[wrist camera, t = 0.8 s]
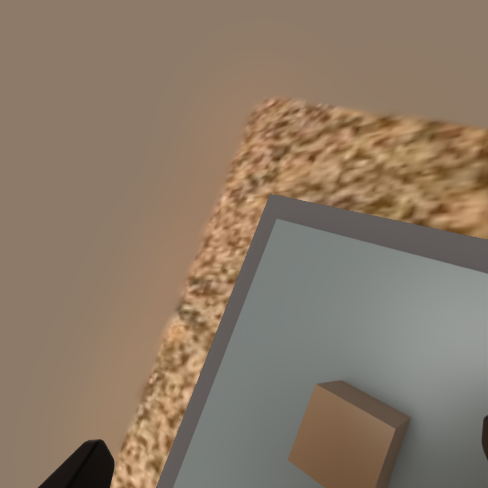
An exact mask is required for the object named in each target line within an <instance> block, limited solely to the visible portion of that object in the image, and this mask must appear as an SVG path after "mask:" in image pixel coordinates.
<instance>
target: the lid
mask: <svg viewBox="0 0 488 488" xmlns="http://www.w3.org/2000/svg"><path fill="white" fill-rule="evenodd" d="M486 415H488V274H487V273H483V272H479V271H475V270H472V269H468V268H464V267H460V266H456V265H452V264H449V263H445V262H441V261H437V260H433V259H429V258H426V257H422V256H418V255H414V254H410V253H406V252H403V251H399V250H395V249H391V248H387V247H383V246H380V245H376V244H372V243H368V242H364V241H360V240H357V239H353V238H349V237H345V236H341V235H337V234H334V233H330V232H326V231H322V230H318V229H314V228H311V227H307V226H303V225H299V224H295V223H291V222H288V221H284V220H280V219H276V222H275V224H274V227H273V229H272V232H271V235H270V237H269V240H268V242H267V245H266V248H265V250H264V253H263V255H262V258H261V261H260V263H259V266H258V268H257V271H256V274H255V276H254V279H253V281H252V284H251V287H250V289H249V292H248V294H247V297H246V300H245V302H244V305H243V307H242V310H241V313H240V315H239V318H238V320H237V323H236V326H235V328H234V331H233V333H232V336H231V338H230V341H229V344H228V346H227V349H226V351H225V354H224V357H223V359H222V362H221V364H220V367H219V370H218V372H217V375H216V377H215V380H214V383H213V385H212V388H211V390H210V393H209V396H208V398H207V401H206V403H205V406H204V409H203V411H202V414H201V416H200V419H199V422H198V424H197V427H196V429H195V432H194V435H193V437H192V440H191V442H190V445H189V448H188V450H187V453H186V455H185V458H184V461H183V463H182V466H181V468H180V471H179V474H178V476H177V479H176V481H175V484H174V487H173V488H488V460H487V458H486V456H485V453H484V451H483V447H482V442H481V439H482V428H483V419H484V417H485V416H486Z"/></svg>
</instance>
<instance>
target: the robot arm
mask: <svg viewBox="0 0 488 488" xmlns="http://www.w3.org/2000/svg"><path fill="white" fill-rule="evenodd" d="M481 442H482V447H483V451H484V453H485V456H486V458H487V460H488V415H486V416H485V417H484V419H483V428H482V439H481ZM113 472H114V459H113V457H112V455H111V453H110V451H109V449H108V448H107V446H106V444H105V442H104V441H103V440H100V439H98V440H88V441H86V442H84V443H83V444H82V445H81V446H80V447H79V448H78V449H77V450H76V451H75V452H74V453H73V454H72V455H71V456H70V457H69V458H68V459H67V460H66V461H65V462H64V463H63V464H62V465H61V466H60V467H59V468H58V469H56V471H55V472H54V473H52V474H51V476H49V477H48V478H47V479H46V480H45V481H44V482H43V483H42V484H41V485H40V486H39V487H38V488H110V485H111V480H112V476H113Z"/></svg>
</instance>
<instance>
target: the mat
mask: <svg viewBox="0 0 488 488" xmlns="http://www.w3.org/2000/svg"><path fill="white" fill-rule="evenodd" d="M276 219H280V220H284V221H288V222H291V223H295V224H299V225H303V226H307V227H311V228H314V229H318V230H322V231H326V232H330V233H334V234H337V235H341V236H345V237H349V238H353V239H357V240H360V241H364V242H368V243H372V244H376V245H380V246H383V247H387V248H391V249H395V250H399V251H403V252H406V253H410V254H414V255H418V256H422V257H426V258H429V259H433V260H437V261H441V262H445V263H449V264H452V265H456V266H460V267H464V268H468V269H472V270H475V271H479V272H483V273H487V274H488V240H486V239H481V238H477V237H472V236H467V235H462V234H458V233H453V232H448V231H444V230H439V229H434V228H429V227H425V226H420V225H415V224H410V223H406V222H401V221H396V220H391V219H387V218H382V217H377V216H373V215H368V214H363V213H358V212H354V211H349V210H344V209H339V208H335V207H330V206H325V205H320V204H316V203H311V202H306V201H302V200H297V199H292V198H287V197H283V196H278V195H273V194H270V195H269V198H268V201H267V203H266V206H265V208H264V211H263V214H262V216H261V219H260V221H259V224H258V226H257V229H256V232H255V234H254V237H253V239H252V242H251V244H250V247H249V250H248V252H247V255H246V257H245V260H244V262H243V265H242V268H241V270H240V273H239V275H238V278H237V281H236V283H235V286H234V288H233V291H232V293H231V296H230V299H229V301H228V304H227V306H226V309H225V311H224V314H223V317H222V319H221V322H220V324H219V327H218V329H217V332H216V335H215V337H214V340H213V342H212V345H211V348H210V350H209V353H208V355H207V358H206V360H205V363H204V366H203V368H202V371H201V373H200V376H199V378H198V381H197V384H196V386H195V389H194V391H193V394H192V396H191V399H190V402H189V404H188V407H187V409H186V412H185V415H184V417H183V420H182V422H181V425H180V427H179V430H178V433H177V435H176V438H175V440H174V443H173V445H172V448H171V451H170V453H169V456H168V458H167V461H166V463H165V466H164V469H163V471H162V474H161V476H160V479H159V482H158V484H157V487H156V488H173V487H174V484H175V481H176V479H177V476H178V474H179V471H180V468H181V466H182V463H183V461H184V458H185V455H186V453H187V450H188V448H189V445H190V442H191V440H192V437H193V435H194V432H195V429H196V427H197V424H198V422H199V419H200V416H201V414H202V411H203V409H204V406H205V403H206V401H207V398H208V396H209V393H210V390H211V388H212V385H213V383H214V380H215V377H216V375H217V372H218V370H219V367H220V364H221V362H222V359H223V357H224V354H225V351H226V349H227V346H228V344H229V341H230V338H231V336H232V333H233V331H234V328H235V326H236V323H237V320H238V318H239V315H240V313H241V310H242V307H243V305H244V302H245V300H246V297H247V294H248V292H249V289H250V287H251V284H252V281H253V279H254V276H255V274H256V271H257V268H258V266H259V263H260V261H261V258H262V255H263V253H264V250H265V248H266V245H267V242H268V240H269V237H270V235H271V232H272V229H273V227H274V224H275V222H276Z"/></svg>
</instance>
